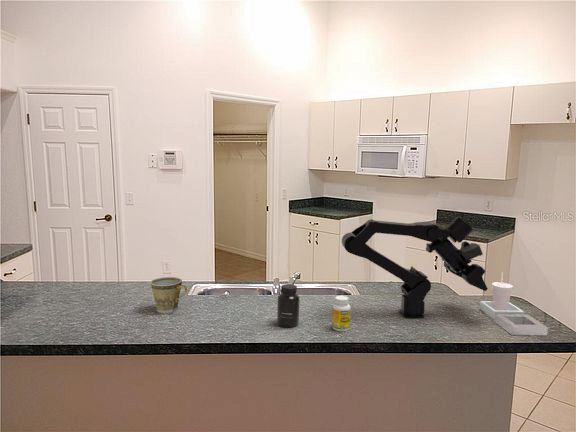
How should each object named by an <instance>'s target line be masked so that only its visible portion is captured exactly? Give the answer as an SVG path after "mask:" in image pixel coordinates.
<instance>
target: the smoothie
mask: <svg viewBox="0 0 576 432" xmlns="http://www.w3.org/2000/svg"><path fill="white" fill-rule="evenodd" d="M500 274H501V275H500V281H499V282H498V281H496V282H495V281H494V282H492V283H491V288H492V301H493V307H494V310H499V311H507V308H508V304H509V302H510V299H511V295H512V292H513V290H514V286H513V285H512V284H510V283H506V282H504V271H501V273H500Z"/></svg>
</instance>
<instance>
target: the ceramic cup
mask: <svg viewBox="0 0 576 432" xmlns="http://www.w3.org/2000/svg"><path fill="white" fill-rule="evenodd" d="M150 288H151V292H152V295H153V297H154V298H153V299H154V302H155V308H156V312H157V313H159V314H163V315H164V314H172V313H175V312H176V310H177V311H178V307H179V300H180V299H181V298H182V297H183V296H185V294H186V293H187V289H188V287H187V286H186V285H185V284H183V279H182V278H179V277H175V276H164V277H163V276H162V277H157V278H154V279H152V280H150ZM182 288H184V290H185V291H184V293H182V294H181V290H182ZM180 294H181V295H180Z"/></svg>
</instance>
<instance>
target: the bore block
mask: <svg viewBox="0 0 576 432" xmlns="http://www.w3.org/2000/svg"><path fill="white" fill-rule="evenodd" d="M493 322H494V323H495V324H497V325H498V326H499V327H501V328H502V329H503V330H504V331H505V332H507V333H508V334H509V335H511V336H547V335H548V329H549V328H548V326H546V325H545V324H543V323H542V322H540V321H538V320H537V319H536V318H533V317H532V316H531V315H529V314H527V313H526V314H525V313H524V314H495V316H494V320H493Z"/></svg>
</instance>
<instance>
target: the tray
mask: <svg viewBox="0 0 576 432" xmlns="http://www.w3.org/2000/svg"><path fill="white" fill-rule="evenodd" d="M479 311H480V312H482V313H484V314H485V316H487V317H488V318H491V320H493V321H494V316H495V314H525V311H524V310H522V309H521V308H519V307H517V306H516V305H514V304H513V303H511V302H510V301H509V304H508V308H507V311H499V310H494V307H493V300H492V301H488V300H486V301H485V300H480V302H479Z"/></svg>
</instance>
